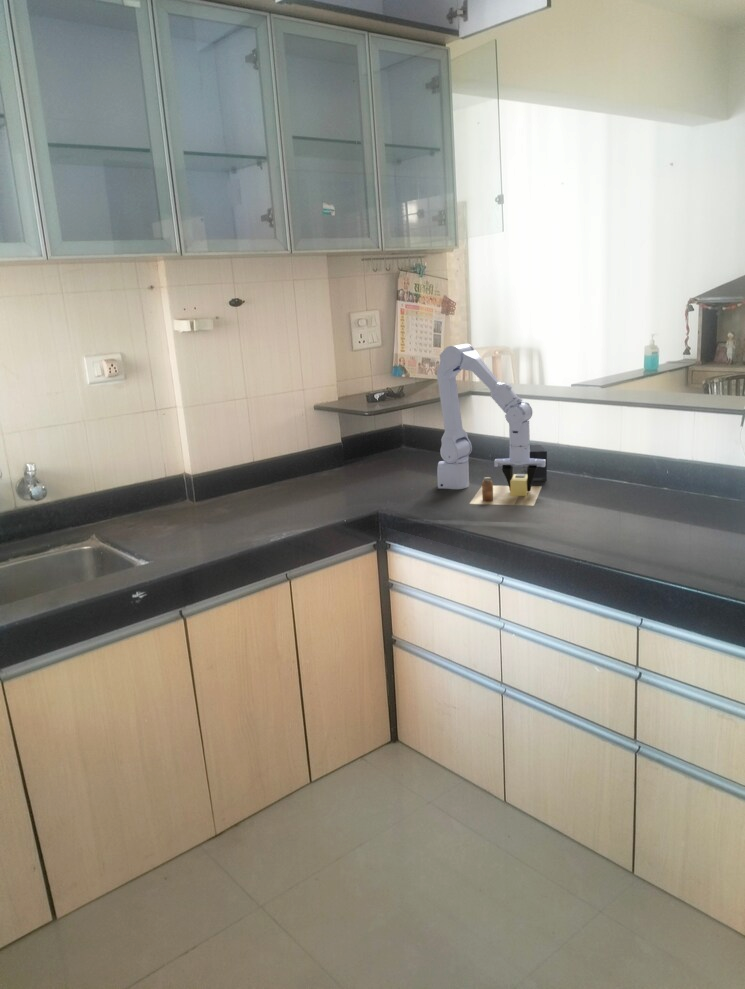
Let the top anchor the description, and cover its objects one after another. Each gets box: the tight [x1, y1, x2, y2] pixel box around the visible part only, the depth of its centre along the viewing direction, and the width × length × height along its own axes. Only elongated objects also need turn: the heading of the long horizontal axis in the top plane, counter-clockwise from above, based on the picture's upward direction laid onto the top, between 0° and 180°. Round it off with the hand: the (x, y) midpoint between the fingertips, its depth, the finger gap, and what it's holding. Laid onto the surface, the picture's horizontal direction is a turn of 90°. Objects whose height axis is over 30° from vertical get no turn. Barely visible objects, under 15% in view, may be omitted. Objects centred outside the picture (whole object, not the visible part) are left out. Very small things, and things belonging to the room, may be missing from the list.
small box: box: [521, 444, 548, 482], centre depth 237 cm, size 11×6×10 cm, turn 179°
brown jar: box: [481, 476, 494, 501], centre depth 215 cm, size 3×3×6 cm
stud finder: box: [510, 473, 528, 496], centre depth 221 cm, size 4×8×5 cm, turn 162°
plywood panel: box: [469, 484, 543, 507], centre depth 220 cm, size 18×21×1 cm
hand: (520, 490), depth 221 cm, fingers closed on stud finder, 4 cm apart
